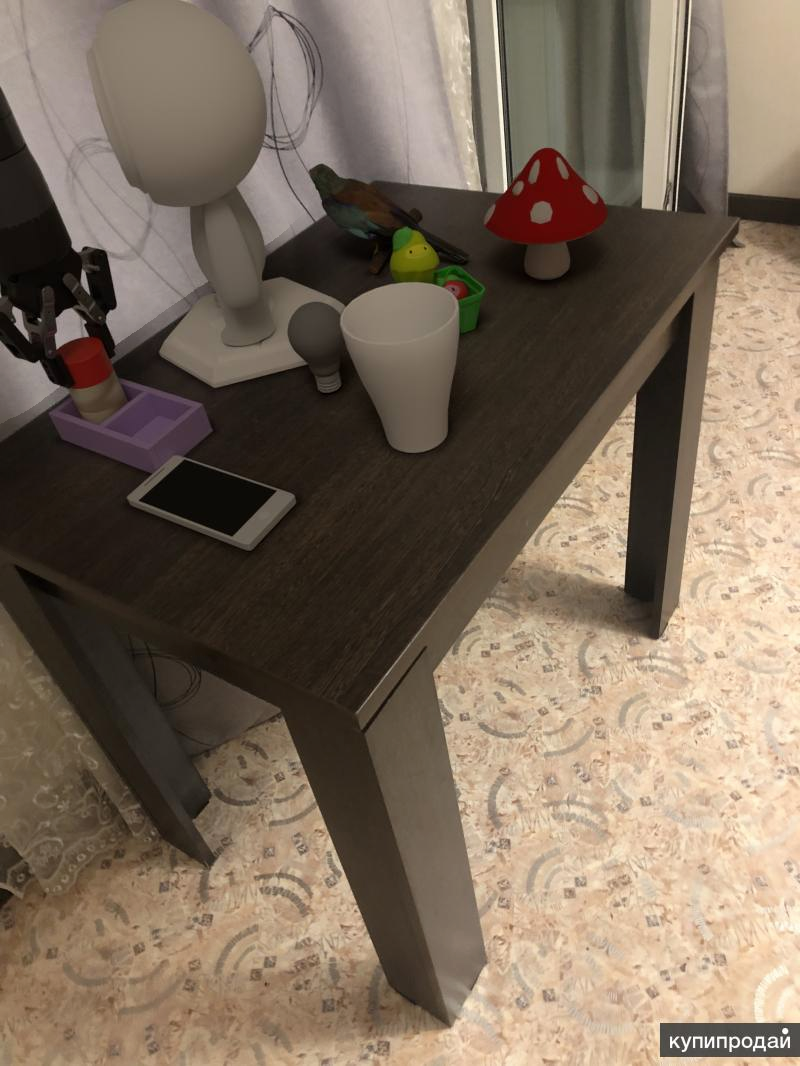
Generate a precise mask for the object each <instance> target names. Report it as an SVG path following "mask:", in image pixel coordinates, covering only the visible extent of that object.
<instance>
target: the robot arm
mask: <svg viewBox="0 0 800 1066" xmlns="http://www.w3.org/2000/svg"><path fill="white" fill-rule="evenodd" d="M56 203H57V202H56V201H55V199H54V197H53V194H52V192H51V190H50V186H49V184H48V182H47V180H46V178H45V175H44V174H43V171H42V169H41V167H40V165H39V163H38V161H36V158H35V157H34V155H33V154H32V152H31V150H30V148H29V146H28V144H27V142H26V139H25V138H24V135H23V133H22V130H21V128H20V126H19V123H18V121H17V119H16V116H15V114H14V111H13V110H12V108H11V105H10V103H9V101H8V98H7V96H6V94H5V92H4V90H3V89H2V86H0V342H1V344H2V345H3V346H4V347H5V348H6V349H7V350H8V351H9V352H10V354H12V356H13V357H14V358H16V359H19V360H24V361H26V362H29V363H30V364H31V363H32V364H37V363H38V362H39V363H40V365H41V367H42V369H43V371H44V372H45V375H46V377H47V379H48V380H49V382H51V383H52V384H53V385H56V386H59V387H60V388H61V387H62V388H64V389H65V388H66V390H68V389H70V388H71V387H72V386H74V385H75V382H74V380H73V378H72V376H71V374H70V372H69V370H68V368H67V366H66V364H65V362H64V360H63V358H62V356H61V354H58V353H57V349H58V348H57V342H56V341H57V340H56V334H57V333H58V326H57V318H59V317H60V315H62V313H63V312H64V311H66V310H70V309H71V310H73V311H74V312H75V313H76V314H77V315H78V316H79V317H80V319H82V320H83V321H85V323H84V324H83V327H84V329H85V331H86V333H87V336H88V337H95V338H98V339H100V340H101V341H102V343H103V345H104V347H105V349H106V352H107V354H108V356H109V358H110V360H112V359H113V358H114V357H115V356H116V352H115V349H116V342H115V340H114V338H113V335H112V333H111V331H110V328H109V327H108V323H107V316H108V315H109V313H110V312H111V311H114V310H116V309H117V306H118V301H117V296H116V291H115V285H114V282H113V281H114V280H113V276H112V271H111V265H110V261H109V255H108V252H107V251H106V250H105V249H101V248H97V247H92V246H89V245H88V246H87V245H85V246H82V248H81V250H80V251H76V250H75V249H74V247H73V242H72V241H73V240H72V238H71V236H70V234H69V231H68V229H67V227H66V224H65V222H64V220H63V218H62V214H61V213H60V211H59V207H58V206H57V204H56ZM83 272H84V273H85V278H86V282H87V286H88V291H87V290H86V289H85V288H84V287H83V286H82V283H81V282H82V273H83ZM14 308H16V309H17V310H20V312H21V319H22V323H23V327H24V330H25V331H26V333H27V336H28V338H26V337H27V336H25V335H24V334H23V332H22V331H21V330H20V329H19V328H18V327H17V325H16V323H17V318H16V317H15V315H14V313H13V309H14Z"/></svg>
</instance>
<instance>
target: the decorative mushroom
mask: <svg viewBox="0 0 800 1066" xmlns="http://www.w3.org/2000/svg"><path fill="white" fill-rule="evenodd" d="M608 213H609V210H608V208H607V206H606V203H605V201H604V199H603V197H601V195H600V194H599V192H598V191H597V190H596V189H595V188H594V187H592V186H590V185H589V184H588V183H587V182H586V180H584V179H583V178H582V177H581V176H580V175H579V174H578V172H577V170H576V168H574V167H573V166H572V165H571V164H570V163H569V162H568V160H567V159H566V158H565V156H564V155H562V153H561V152H559V151H558V150H556V149H555V148H553V147H543V148H541V149H538V150H537V151H535V152H534V153H533V154H532V156H531V157H530V158H529V159H528V161H527V162H526V164H525V165H524V167H523V168H522V170H521V171H518V172H517V173H516V174H515V176H514V177H513V179H512V183H510V185H509V187H508V188H507V189H506V190H505V191H504V192H503V193H502V194H501V196H500V197H498V199H496V201H495V202H494V203H493V204H492V205H491V206H490V208H488V210H487V212H486V213H485V215H484V219H483V226H484V228H485V229H487V230H488V231H489V232H491V233H492V234H494V235H496V236H497V237H499V238H501V239H503V240H506V241H507V242H512V243H516V244H519V245H520V244H521V245H527V247H526V251H525V255H524V262H523V267H524V271H525V273H526V274H527V275H528V276H530V278H533V279H535V280H540V281H551V280H555V279H558V278H561V277H562V276H563V275H565V273H567V272H568V270H569V269H570V265H571V257H570V256H571V255H570V252H569V249H568V244H567V243H568V242H571V241H574V240H577V239H581V238H583V237H585V236H587V235H589V234H591V233H593V232H595V231H596V230H597V229H598V228H600V227H601V226H602V225H604V223H605V222H606V220H607V219H608Z"/></svg>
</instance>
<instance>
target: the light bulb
mask: <svg viewBox="0 0 800 1066" xmlns="http://www.w3.org/2000/svg"><path fill="white" fill-rule="evenodd" d="M340 317H341V315H340V313H339V312H338V311H337V310H336V309H335V308H333V307H332V306H330V305H328V304H326V303H323V302H310V303H306V304H304V305H302V306H300V307H299V308H298V309H297V310H296V311H295V312H294V314H293V315H292V317H291V319H290V321H289V324H288V331H287V333H288V338H289V342H290V344H291V346H292V348H293V349H294V351H295V352H296V353H297V354H298V355H299V356H300V357H301V358H302V359H303V360H304V361H305V362H306V363H307V366H308V369H309V371H310V372H311V373H312V374H313V375H314V378H315V382H316V387H317V390H318V391H319V392H321V393H326V394H328V393H333V392H336V391H337V390H338V389H340V387H341V386H342V380H341V376H340V371H339V369H340V365H341V354H342V351H343V349H344V346H345V344H346V343H345V340H344V337H343V333H342V330H341V327H340Z"/></svg>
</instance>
